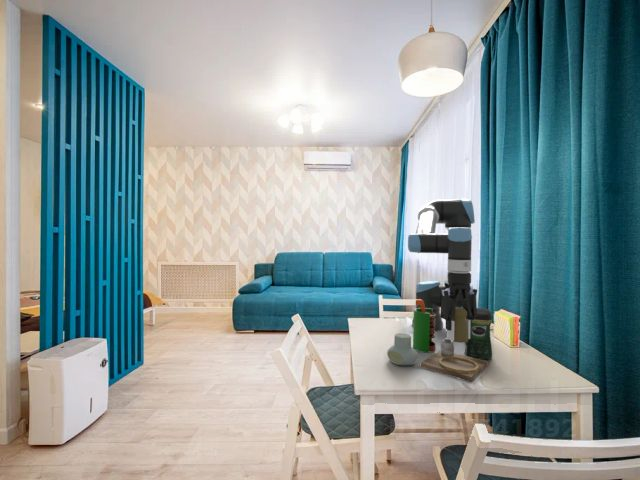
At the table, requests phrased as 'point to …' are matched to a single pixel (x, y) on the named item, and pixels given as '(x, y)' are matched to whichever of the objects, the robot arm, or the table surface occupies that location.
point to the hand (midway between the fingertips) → (458, 338)
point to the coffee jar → (480, 336)
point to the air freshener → (402, 350)
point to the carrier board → (454, 363)
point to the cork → (460, 325)
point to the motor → (423, 328)
